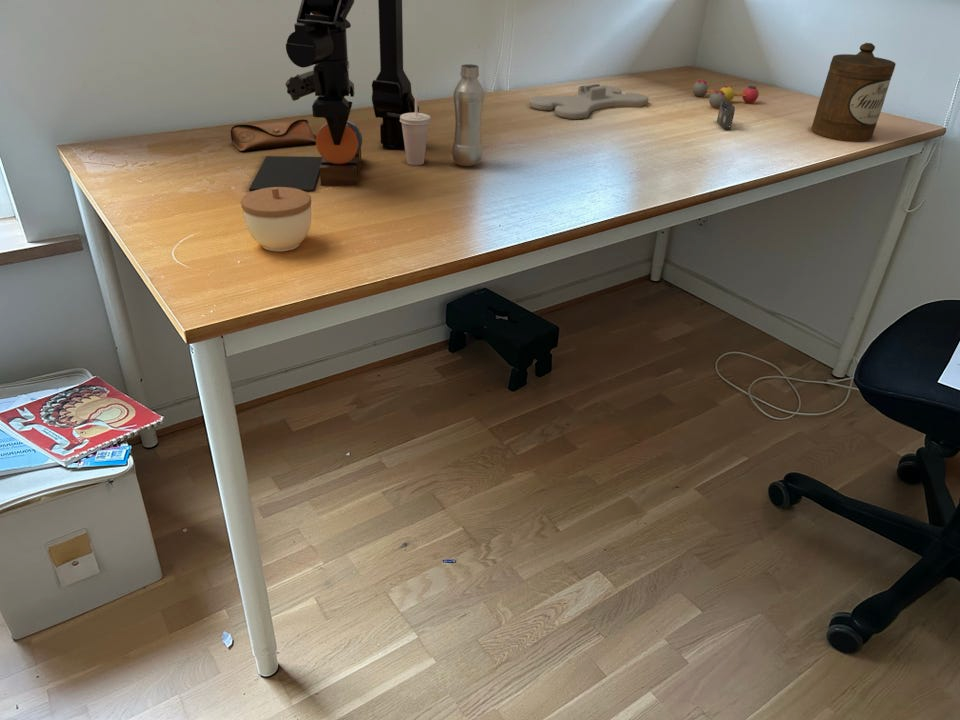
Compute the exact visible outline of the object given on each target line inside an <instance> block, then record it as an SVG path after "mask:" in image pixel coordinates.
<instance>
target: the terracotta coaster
mask: <svg viewBox="0 0 960 720" xmlns="http://www.w3.org/2000/svg"><path fill="white" fill-rule="evenodd" d="M315 139H316V142H315V145H316V150H317V152H318V153H319V155H320V157H323V158H324V159H325V160H327V161H328V162H331V163H334V164H344V163H347V162H349V161H350V160H352V159H353V158H354V156H355V155H356V153H357V150H358V137H357V134H356V133H355V131H354V130H353V128H352V127H350V126H349V125H348V124H346V127H345V130H344V133H343V136H342V140H341V143H340V145H334V143H333V139H332V136H331V133H330V130H329V126H328V123H327V122H326V123H324V124H322V126H321V127H320V128H319V129H318V132H317V134H316V137H315Z"/></svg>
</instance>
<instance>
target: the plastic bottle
mask: <svg viewBox="0 0 960 720" xmlns="http://www.w3.org/2000/svg"><path fill="white" fill-rule="evenodd" d="M479 72H480V69H479V65H477V64H472V63H469V64H467V63H466V64H461V65H460V72H459V76H460V80H459V81H458V82H457V84H456V86H455V87H454V90H453V92H452V94H453V97H452V98H453V104H454V105H453V106H454V116H455V117H454V118H455V119H454V120H455V129H454V139H453V144H452V149H451V154H452V155H451V156H452V160H453V161H454V163H455V164H456V165H459V166H463V167H473V166H476V165H479V163H480V162H481V161H482V157H483V143H482V134H481V125H482V124H481V123H482V122H481V121H482V112H483V107H484V100H485V89H484V88H483V86H482V84H481V82H480V80H479V79H478V78H479V76H480V73H479Z"/></svg>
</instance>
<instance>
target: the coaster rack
mask: <svg viewBox="0 0 960 720" xmlns="http://www.w3.org/2000/svg"><path fill="white" fill-rule="evenodd" d="M362 160H363V159H362V148H361V149H358V150H357V153H356V155H355V156H354V158H353V159H352V160H350V161H349V162H347V163H344V164H334V163H331V162H328V161H327V160H325V159H324V158H322V161H321V165H320V168H319V169H320V172H319V180H320V186H348V187H349V186H350V187H351V186H353V187H354V186H355V187H356V186H358V182H359V176H360V171H361V165H362Z"/></svg>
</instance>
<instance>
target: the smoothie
mask: <svg viewBox="0 0 960 720" xmlns="http://www.w3.org/2000/svg"><path fill="white" fill-rule="evenodd" d="M418 97H419V96H418V95H417V94H415V95H414V99H415V113H405V114H402V115H401V116H400V122H401V123H402V130H403V137H404V145H405V149H404V151H405V159H406V163H407V164H408V165H411V166H420V165H421V166H422V165H424V163H425V157H426V150H427V143H428V142H427V141H428V133H429V125H430V123H431V116H430V115H429V114H427V113H422V112H419V113H418V107H419V104H418Z"/></svg>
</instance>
